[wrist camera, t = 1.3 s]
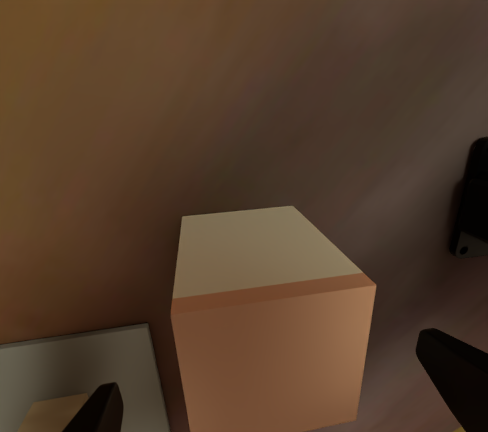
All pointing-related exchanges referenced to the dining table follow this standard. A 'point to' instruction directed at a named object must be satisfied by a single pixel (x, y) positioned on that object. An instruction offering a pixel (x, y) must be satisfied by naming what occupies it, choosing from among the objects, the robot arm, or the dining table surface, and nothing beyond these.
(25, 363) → the grey flat square slab
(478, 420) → the robot arm
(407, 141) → the dining table surface
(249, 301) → the cream orange-topped box
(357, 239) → the dining table surface
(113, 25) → the dining table surface
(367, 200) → the dining table surface
